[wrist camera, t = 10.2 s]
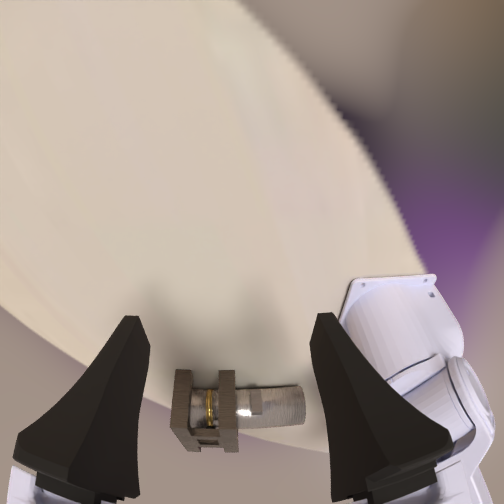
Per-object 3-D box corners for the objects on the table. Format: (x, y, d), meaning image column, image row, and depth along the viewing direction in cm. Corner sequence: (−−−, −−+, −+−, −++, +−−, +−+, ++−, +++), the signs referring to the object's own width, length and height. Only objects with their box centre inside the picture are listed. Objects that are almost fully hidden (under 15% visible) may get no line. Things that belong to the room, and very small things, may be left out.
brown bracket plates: (234, 370, 31) (236, 429, 25) (236, 405, 37) (238, 452, 31) (175, 369, 31) (169, 427, 25) (189, 405, 37) (187, 451, 31)
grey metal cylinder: (301, 376, 32) (308, 415, 28) (294, 397, 36) (300, 432, 32) (177, 379, 32) (174, 419, 27) (186, 400, 35) (184, 435, 31)
